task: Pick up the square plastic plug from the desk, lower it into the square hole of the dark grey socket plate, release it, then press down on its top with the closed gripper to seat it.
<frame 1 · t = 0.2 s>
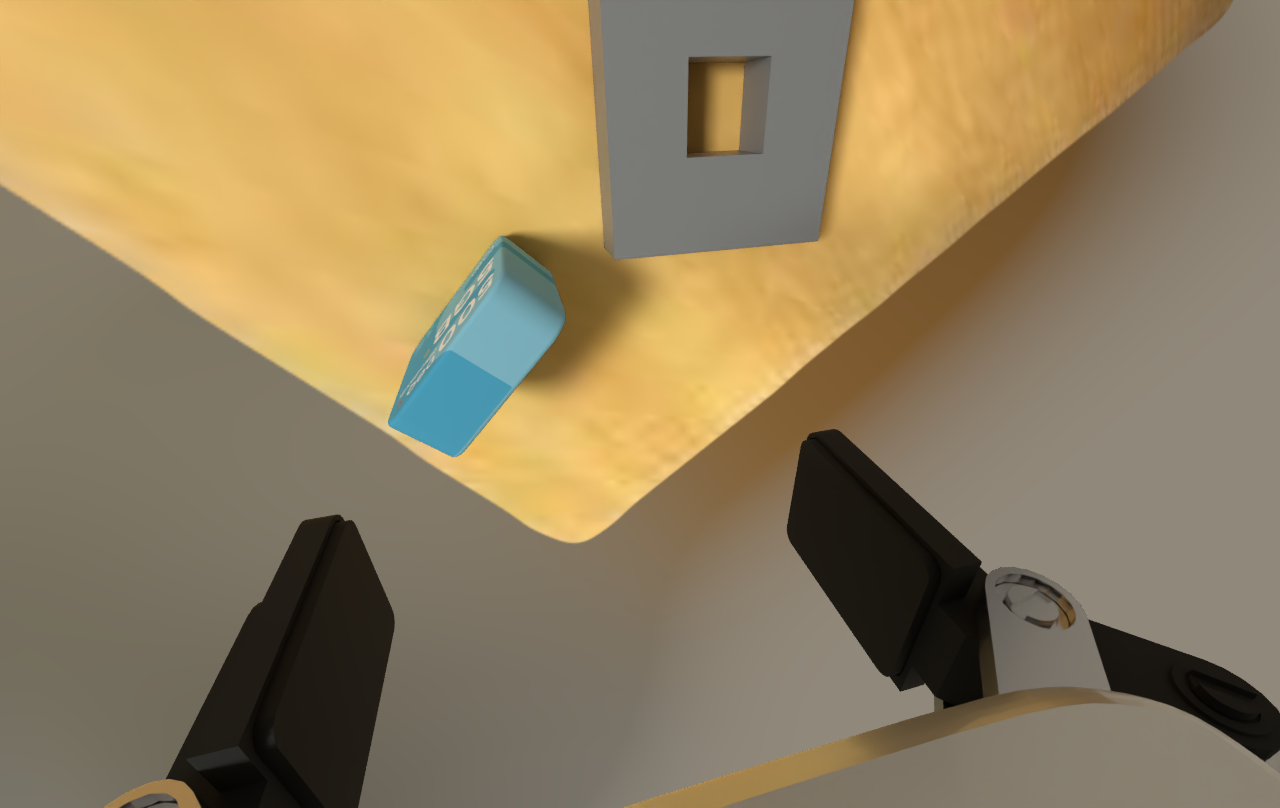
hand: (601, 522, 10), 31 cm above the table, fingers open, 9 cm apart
data package: (481, 309, 38), on the table
socket plate: (706, 109, 35), on the table
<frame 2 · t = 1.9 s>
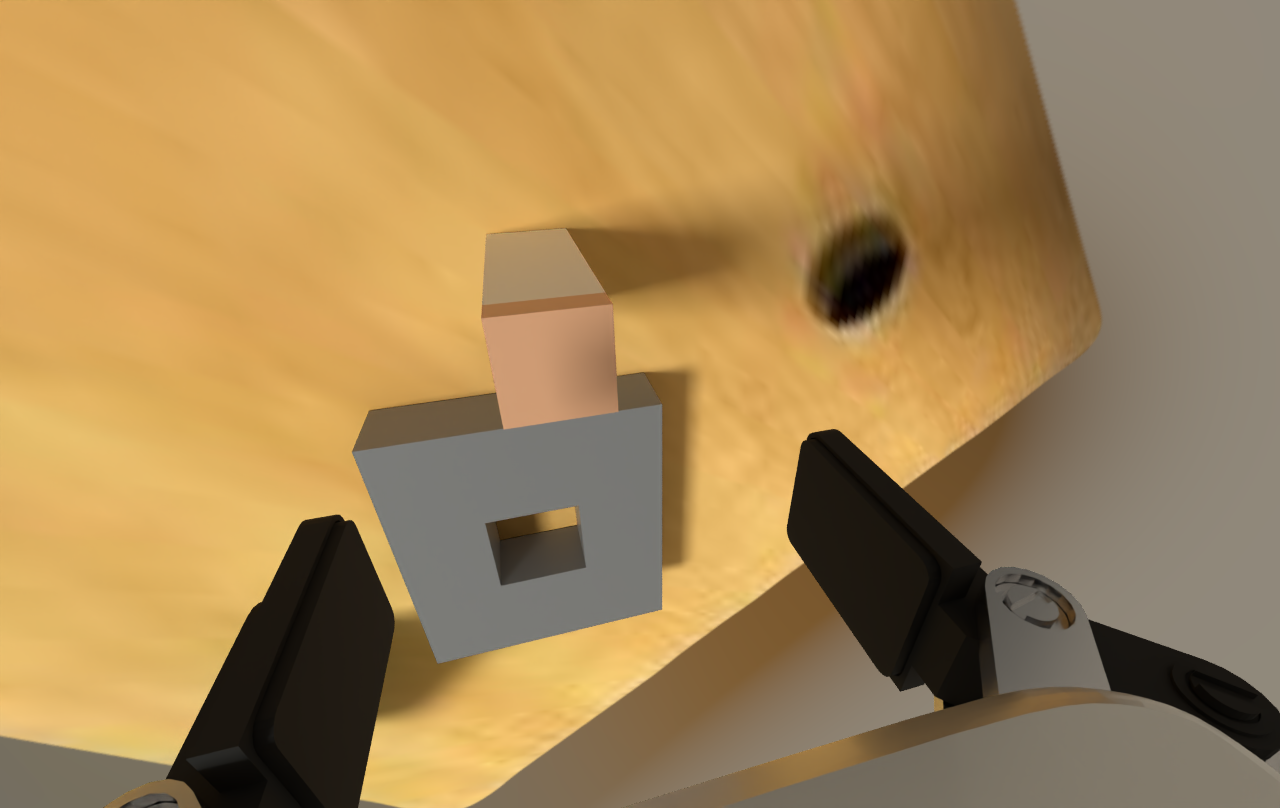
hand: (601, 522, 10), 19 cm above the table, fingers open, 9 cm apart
plug: (531, 270, 26), on the table
socket plate: (534, 504, 34), on the table
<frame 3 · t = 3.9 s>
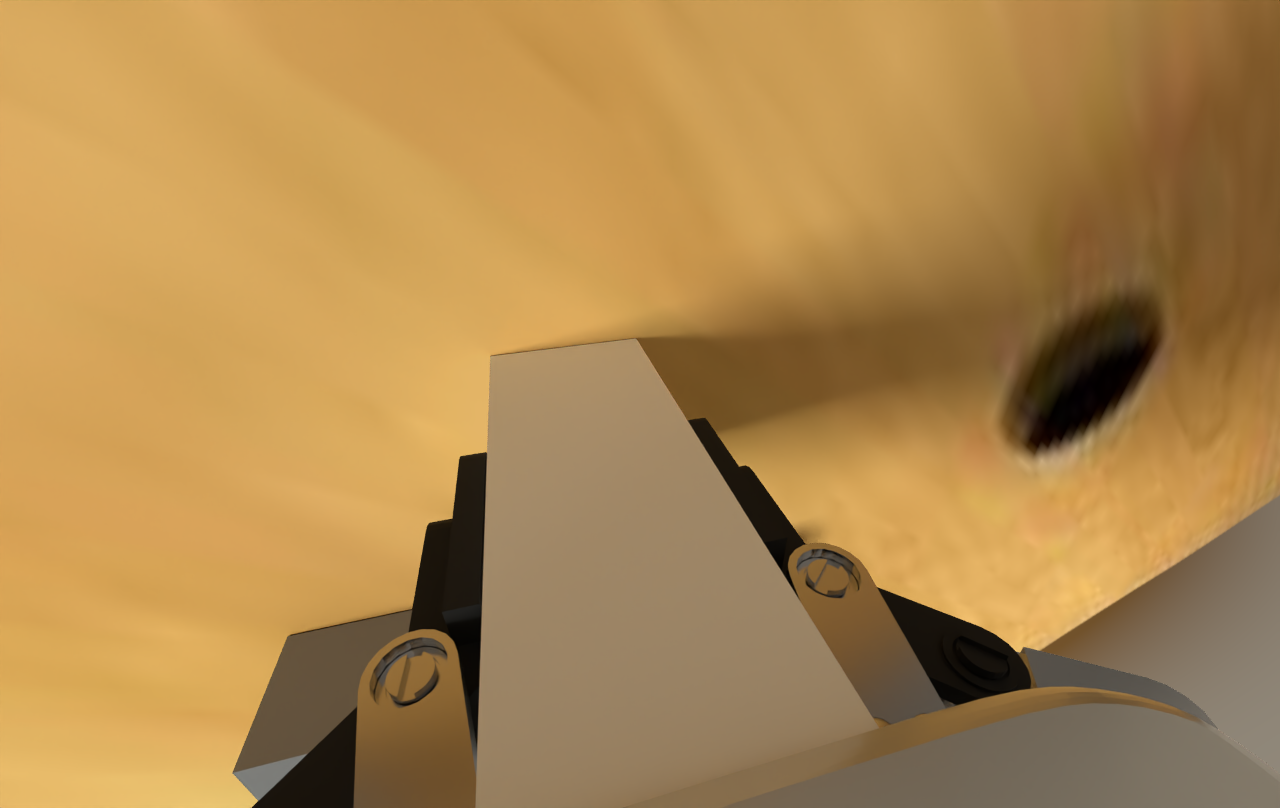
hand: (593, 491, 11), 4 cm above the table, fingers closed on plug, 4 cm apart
plug: (572, 409, 15), on the table, touching gripper
socket plate: (561, 717, 22), on the table
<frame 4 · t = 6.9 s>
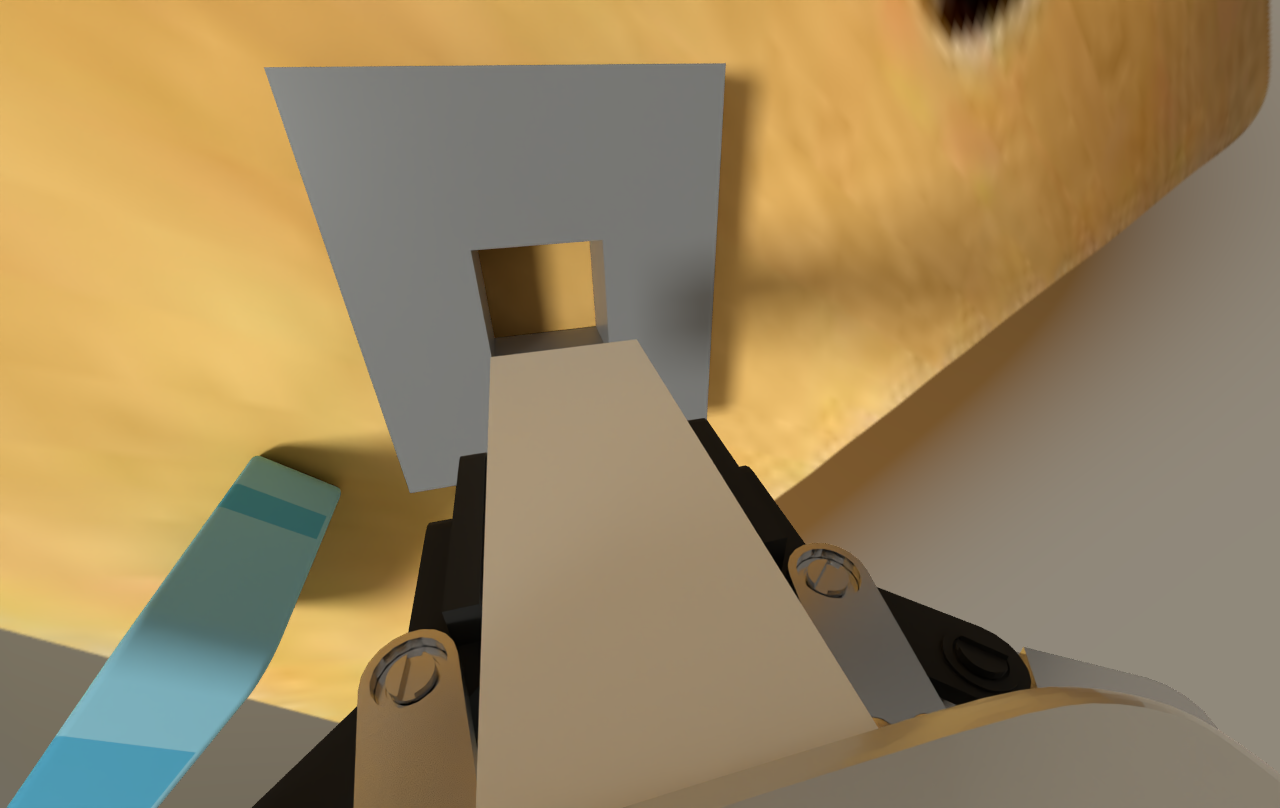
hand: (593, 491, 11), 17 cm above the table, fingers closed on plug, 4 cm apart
data package: (257, 529, 29), on the table
plug: (572, 410, 14), point 13 cm above the table, touching gripper
socket plate: (539, 282, 25), on the table
when the fingers open (5 cm above the table, at t = 9.8 s): plug drops 1 cm, resting in socket plate.
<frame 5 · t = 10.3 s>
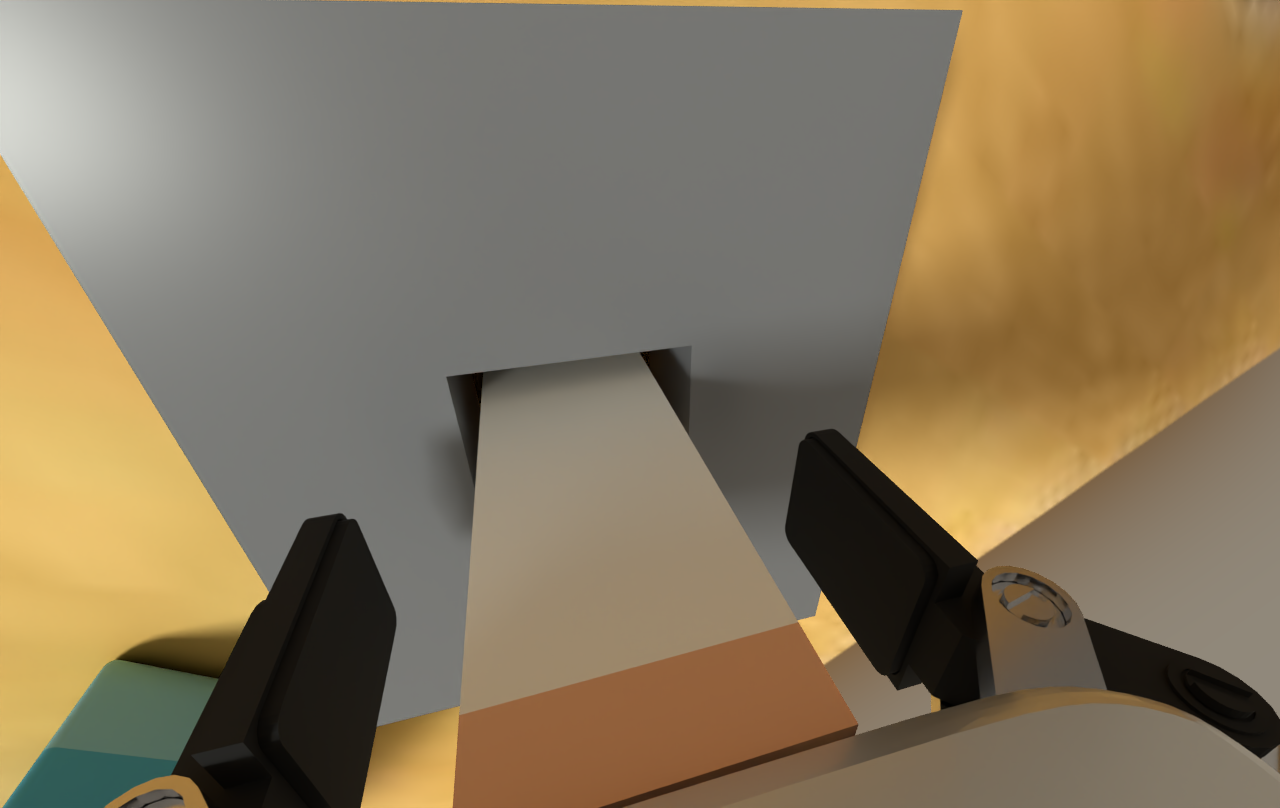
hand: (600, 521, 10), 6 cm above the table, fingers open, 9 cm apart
data package: (135, 741, 19), on the table
plug: (563, 386, 16), resting in socket plate
socket plate: (566, 386, 16), on the table
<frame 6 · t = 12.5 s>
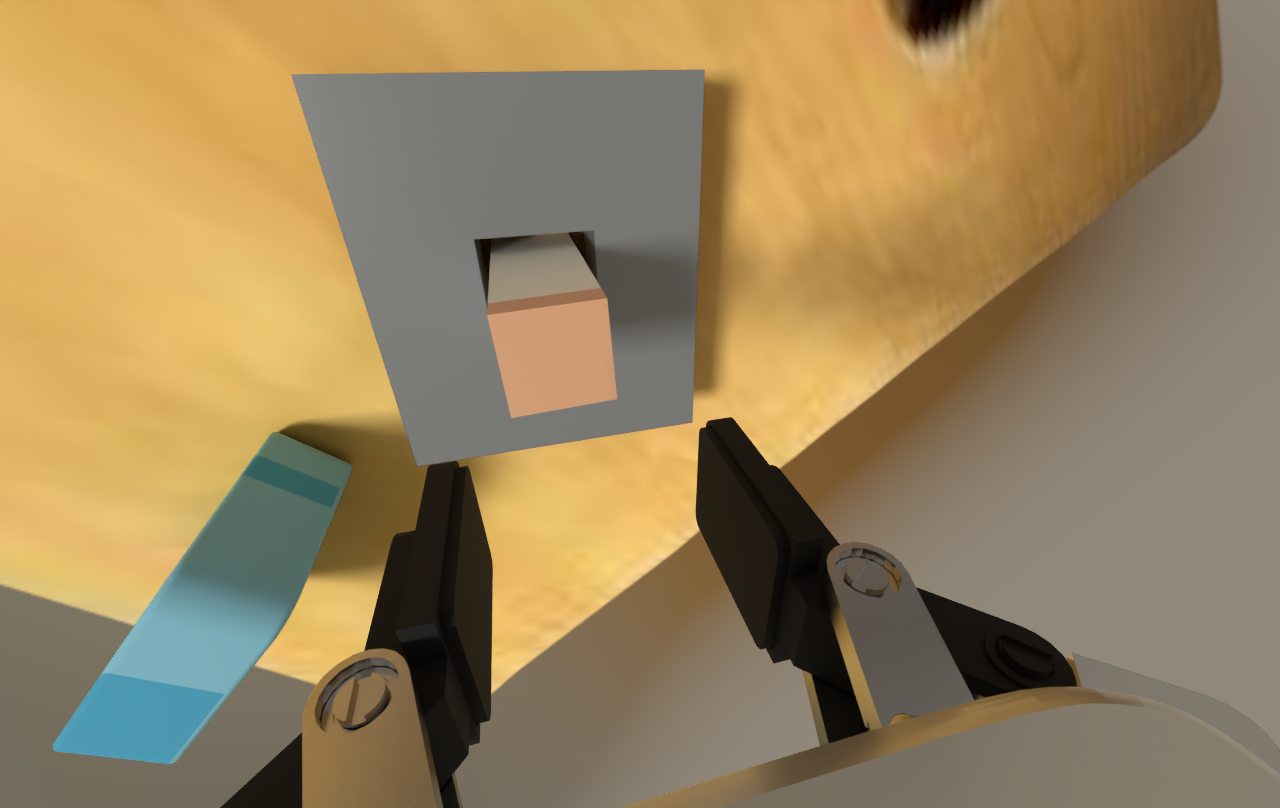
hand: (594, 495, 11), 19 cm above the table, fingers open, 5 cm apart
data package: (273, 503, 31), on the table
plug: (535, 271, 27), resting in socket plate
socket plate: (537, 271, 27), on the table
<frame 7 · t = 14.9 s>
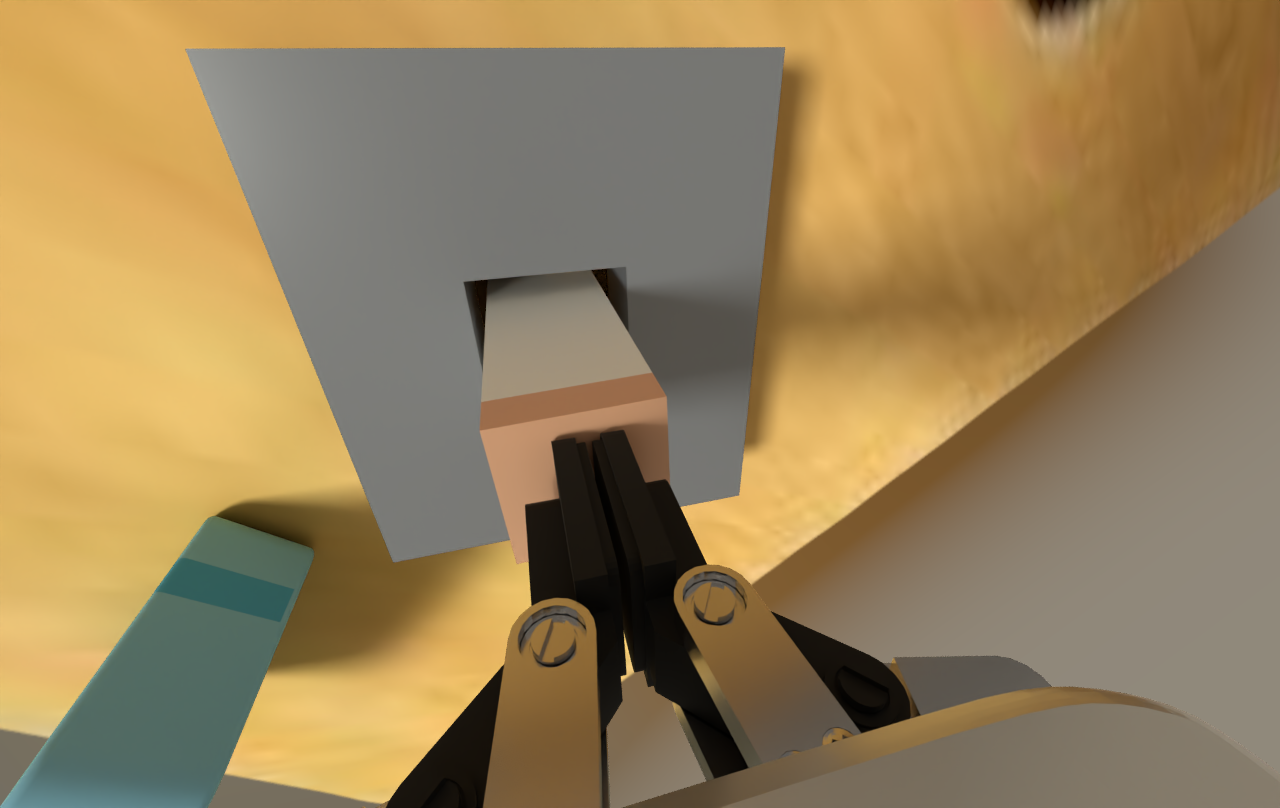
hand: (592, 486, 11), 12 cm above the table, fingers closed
data package: (218, 594, 25), on the table
plug: (545, 311, 21), resting in socket plate, touching gripper
socket plate: (547, 311, 21), on the table
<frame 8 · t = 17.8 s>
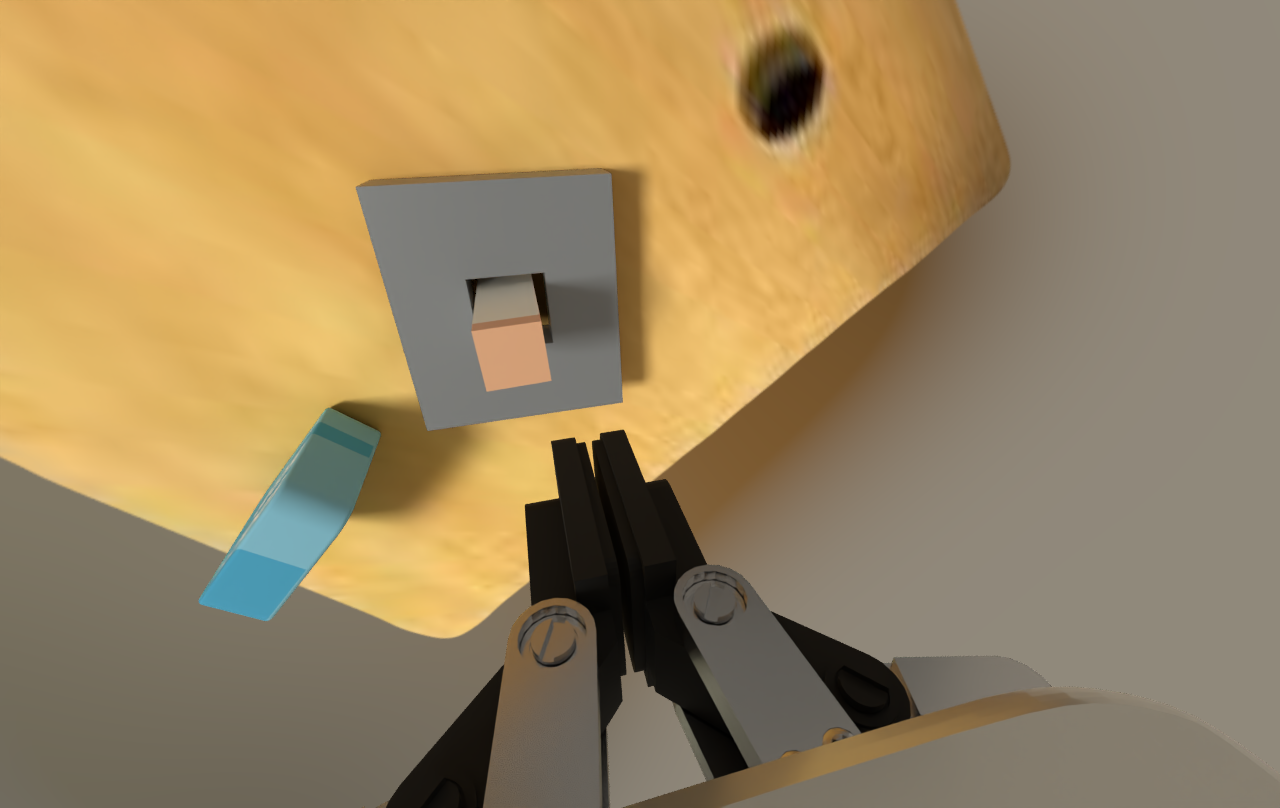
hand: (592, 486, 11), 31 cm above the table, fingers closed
data package: (323, 460, 43), on the table
plug: (509, 296, 40), resting in socket plate
socket plate: (510, 296, 40), on the table
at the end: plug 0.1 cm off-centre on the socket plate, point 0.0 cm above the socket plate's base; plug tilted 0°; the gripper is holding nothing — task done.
